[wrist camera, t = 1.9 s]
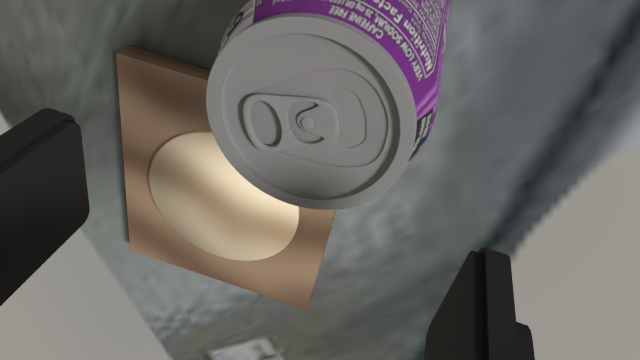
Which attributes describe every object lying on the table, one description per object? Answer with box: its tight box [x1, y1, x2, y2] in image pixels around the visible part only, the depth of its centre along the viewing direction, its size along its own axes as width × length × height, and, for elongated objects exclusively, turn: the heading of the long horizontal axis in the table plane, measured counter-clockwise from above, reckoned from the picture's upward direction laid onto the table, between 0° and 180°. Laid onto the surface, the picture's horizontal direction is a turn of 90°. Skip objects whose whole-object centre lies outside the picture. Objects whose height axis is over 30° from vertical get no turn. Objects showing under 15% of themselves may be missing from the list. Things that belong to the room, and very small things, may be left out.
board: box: [116, 45, 336, 309], centre depth 32 cm, size 16×14×2 cm
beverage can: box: [206, 0, 450, 210], centre depth 19 cm, size 7×7×12 cm
